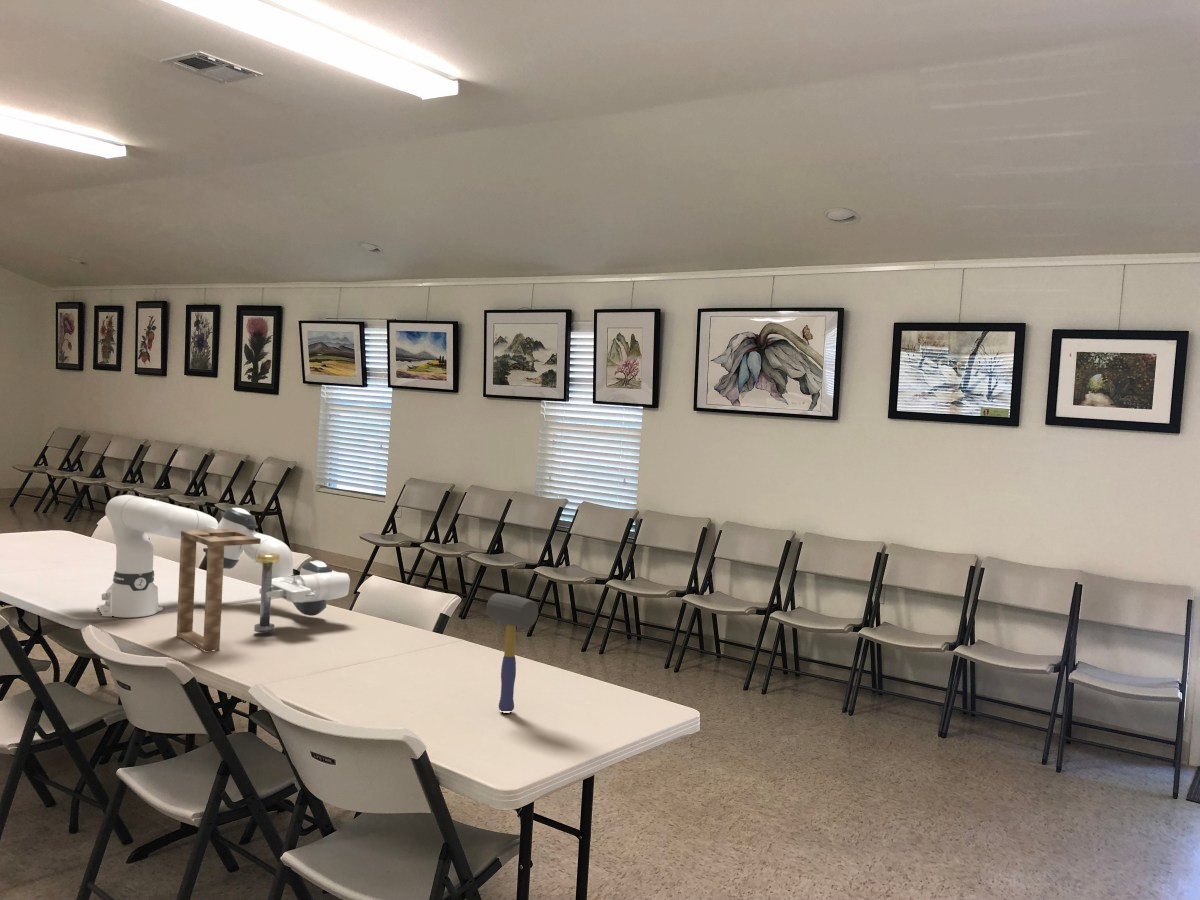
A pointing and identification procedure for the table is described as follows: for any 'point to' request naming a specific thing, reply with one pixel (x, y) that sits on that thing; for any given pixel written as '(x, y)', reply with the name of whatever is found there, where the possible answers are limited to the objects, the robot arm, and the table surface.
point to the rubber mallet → (510, 636)
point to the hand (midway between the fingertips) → (263, 592)
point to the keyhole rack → (213, 582)
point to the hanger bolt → (266, 586)
